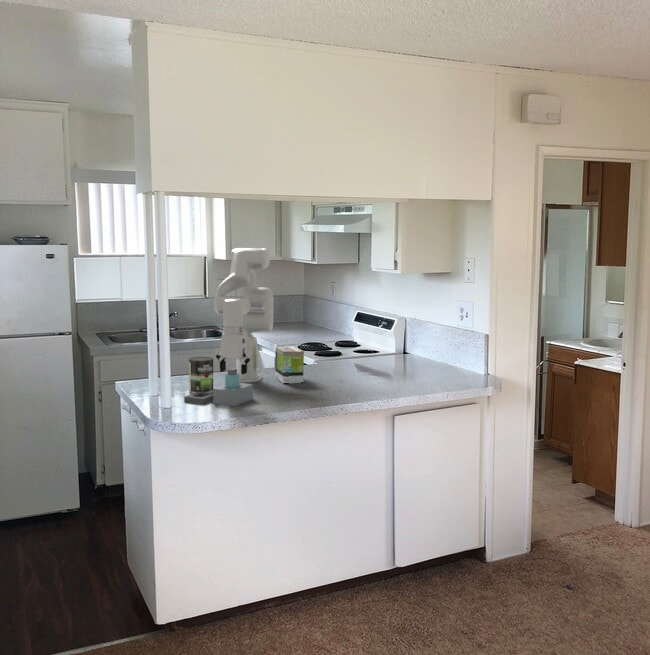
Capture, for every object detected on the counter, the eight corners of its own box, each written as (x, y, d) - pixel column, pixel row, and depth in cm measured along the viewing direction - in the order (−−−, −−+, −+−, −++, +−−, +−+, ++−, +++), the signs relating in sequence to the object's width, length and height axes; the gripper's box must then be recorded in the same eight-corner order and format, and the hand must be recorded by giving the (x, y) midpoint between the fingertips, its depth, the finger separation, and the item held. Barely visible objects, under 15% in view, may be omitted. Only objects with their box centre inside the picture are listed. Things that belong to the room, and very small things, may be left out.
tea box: (304, 383, 320) (304, 350, 318) (282, 384, 317) (282, 351, 315) (295, 376, 334) (295, 345, 332) (274, 377, 331) (274, 346, 329)
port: (231, 396, 293) (231, 381, 292) (252, 398, 289) (252, 383, 288) (213, 403, 280) (212, 387, 279) (235, 406, 276) (235, 390, 275)
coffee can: (218, 392, 300) (217, 359, 298) (195, 395, 294) (195, 361, 292) (206, 387, 308) (206, 355, 306) (184, 390, 302) (184, 357, 300)
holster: (198, 396, 291) (198, 391, 291) (217, 399, 287) (217, 393, 287) (184, 402, 282) (184, 396, 282) (203, 404, 278) (203, 399, 278)
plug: (232, 394, 287) (231, 367, 285) (239, 395, 285) (239, 368, 284) (225, 397, 282) (225, 370, 281) (232, 398, 281) (232, 370, 279)
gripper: (256, 330, 281) (257, 372, 283) (219, 327, 287) (219, 368, 290) (247, 333, 274) (247, 376, 277) (209, 330, 281) (209, 372, 283)
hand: (233, 372), depth 283 cm, fingers open, 9 cm apart
